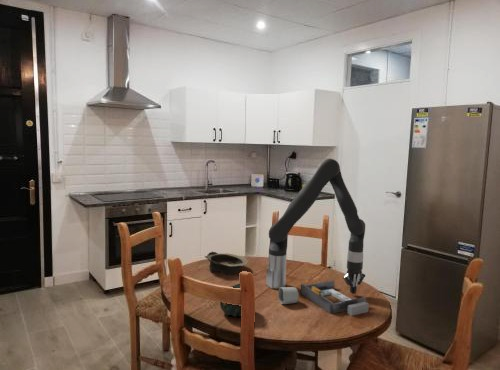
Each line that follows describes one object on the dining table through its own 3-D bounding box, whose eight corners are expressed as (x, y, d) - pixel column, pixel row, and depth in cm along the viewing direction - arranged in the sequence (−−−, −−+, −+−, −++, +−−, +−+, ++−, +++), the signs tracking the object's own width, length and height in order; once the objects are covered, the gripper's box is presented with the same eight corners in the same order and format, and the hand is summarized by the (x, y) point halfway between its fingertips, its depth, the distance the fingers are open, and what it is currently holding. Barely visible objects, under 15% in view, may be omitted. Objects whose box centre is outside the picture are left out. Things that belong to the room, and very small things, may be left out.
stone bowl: (195, 271, 220) (196, 255, 220) (223, 263, 241) (223, 249, 240) (230, 280, 206) (231, 263, 206) (255, 271, 227) (256, 255, 226)
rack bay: (330, 313, 170) (331, 298, 169) (300, 293, 192) (301, 280, 191) (365, 306, 179) (366, 291, 178) (332, 287, 201) (333, 274, 200)
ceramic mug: (299, 305, 178) (300, 289, 178) (283, 307, 176) (284, 290, 175) (290, 296, 188) (291, 281, 188) (275, 298, 186) (275, 282, 185)
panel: (351, 316, 169) (351, 307, 168) (347, 313, 171) (347, 305, 170) (368, 312, 173) (368, 303, 173) (364, 310, 175) (365, 301, 175)
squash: (214, 295, 173) (223, 279, 163) (245, 292, 180) (255, 276, 169) (221, 326, 165) (231, 310, 155) (253, 321, 171) (264, 306, 161)
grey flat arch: (308, 292, 189) (332, 287, 196) (308, 297, 190) (331, 292, 196) (332, 307, 173) (357, 301, 180) (332, 312, 173) (357, 306, 180)
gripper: (360, 255, 195) (358, 288, 197) (339, 258, 189) (337, 292, 191) (370, 260, 188) (368, 294, 190) (349, 263, 183) (347, 298, 185)
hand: (353, 293), depth 191 cm, fingers closed
